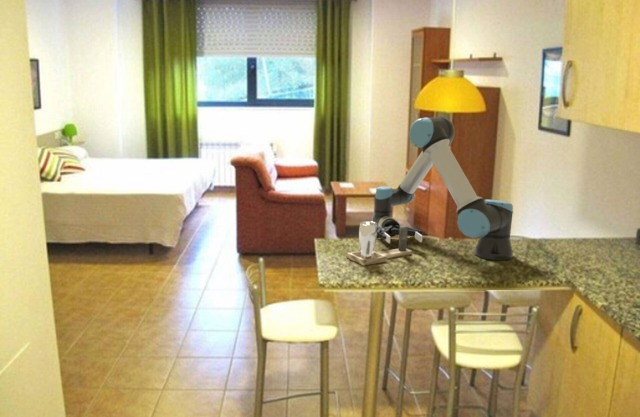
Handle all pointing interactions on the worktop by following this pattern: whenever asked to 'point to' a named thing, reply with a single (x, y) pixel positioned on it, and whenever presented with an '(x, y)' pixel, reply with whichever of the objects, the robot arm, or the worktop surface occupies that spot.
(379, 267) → the worktop surface
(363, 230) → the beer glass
